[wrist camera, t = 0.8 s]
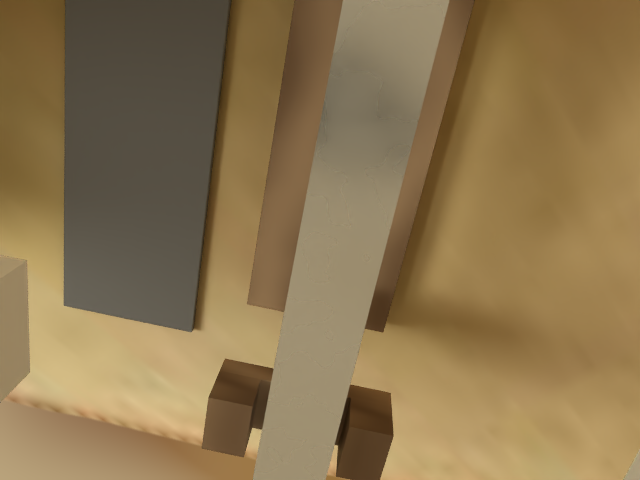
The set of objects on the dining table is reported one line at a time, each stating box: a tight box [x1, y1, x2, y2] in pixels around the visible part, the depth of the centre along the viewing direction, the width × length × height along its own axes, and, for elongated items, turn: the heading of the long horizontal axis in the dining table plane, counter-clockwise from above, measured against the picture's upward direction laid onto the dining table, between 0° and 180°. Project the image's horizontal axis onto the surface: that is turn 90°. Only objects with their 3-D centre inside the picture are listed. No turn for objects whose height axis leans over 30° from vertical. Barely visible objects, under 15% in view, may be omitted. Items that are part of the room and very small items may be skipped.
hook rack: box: [202, 0, 475, 480], centre depth 28 cm, size 10×26×16 cm, turn 169°
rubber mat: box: [64, 0, 231, 332], centre depth 35 cm, size 10×34×1 cm, turn 169°
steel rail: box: [253, 0, 449, 480], centre depth 20 cm, size 3×28×4 cm, turn 169°
